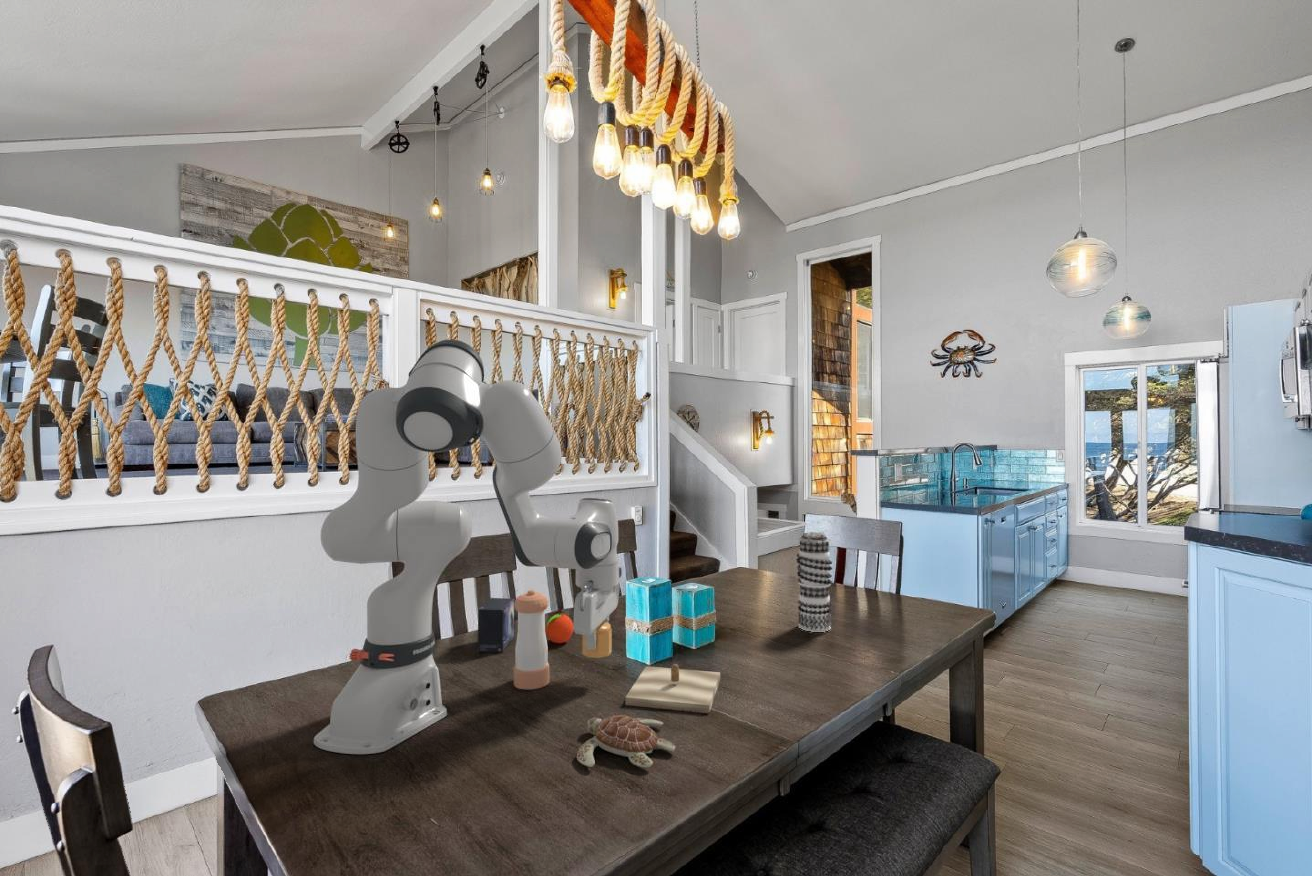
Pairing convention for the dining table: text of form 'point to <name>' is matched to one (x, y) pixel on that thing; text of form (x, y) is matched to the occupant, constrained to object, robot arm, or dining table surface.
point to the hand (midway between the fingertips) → (597, 642)
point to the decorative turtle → (623, 739)
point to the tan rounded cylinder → (599, 642)
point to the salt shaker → (531, 642)
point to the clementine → (559, 628)
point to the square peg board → (674, 689)
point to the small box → (495, 625)
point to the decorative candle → (814, 582)
